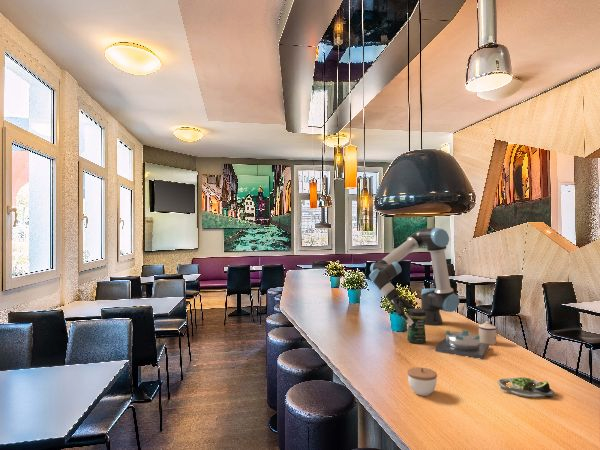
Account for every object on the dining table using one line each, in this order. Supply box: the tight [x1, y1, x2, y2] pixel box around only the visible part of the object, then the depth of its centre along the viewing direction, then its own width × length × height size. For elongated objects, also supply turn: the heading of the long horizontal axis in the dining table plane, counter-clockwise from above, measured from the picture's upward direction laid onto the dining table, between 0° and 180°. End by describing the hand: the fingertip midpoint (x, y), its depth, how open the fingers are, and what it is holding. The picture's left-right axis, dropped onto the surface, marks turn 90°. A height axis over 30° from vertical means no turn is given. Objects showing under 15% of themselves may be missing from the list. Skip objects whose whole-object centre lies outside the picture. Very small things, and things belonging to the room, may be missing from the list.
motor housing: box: [434, 329, 490, 360], centre depth 196 cm, size 22×22×8 cm
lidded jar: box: [407, 366, 438, 397], centre depth 143 cm, size 11×11×9 cm
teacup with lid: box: [477, 321, 497, 346], centre depth 210 cm, size 12×9×12 cm
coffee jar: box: [406, 307, 427, 344], centre depth 210 cm, size 10×8×19 cm
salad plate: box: [497, 376, 558, 399], centre depth 146 cm, size 19×18×5 cm
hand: (415, 321), depth 209 cm, fingers open, 13 cm apart
